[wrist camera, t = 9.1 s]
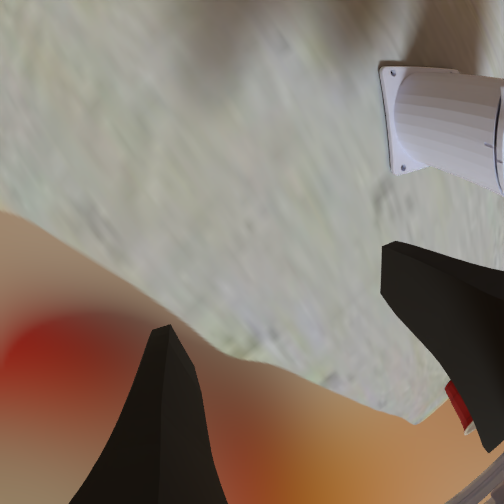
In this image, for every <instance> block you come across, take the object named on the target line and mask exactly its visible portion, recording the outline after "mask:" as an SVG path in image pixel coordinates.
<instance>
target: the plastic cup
mask: <svg viewBox="0 0 504 504" xmlns="http://www.w3.org/2000/svg"><path fill="white" fill-rule="evenodd" d="M445 391H446V393H447V395H448V397H449V399H450V401H451V403H452V405H453V407H454V409H455V411H456V412H457V415H458V416H459V418H460V420H461V423H462V425H463V428H464V435H467V434H469V433H471V432H472V431H473V430H474V429H476V426H475V424H474V422H473V419H472V417H471V415H470V413H469V411H468V409H467V407H466V405H465V403H464V401H463V399H462V397H461V396H460V394H459V392H458V391H457V389H456V387H455V386H454V384H453V382H452V381H450V382H449V383H448V384H447V386H446V387H445Z"/></svg>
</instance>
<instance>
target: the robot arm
mask: <svg viewBox="0 0 504 504" xmlns="http://www.w3.org/2000/svg"><path fill="white" fill-rule="evenodd" d="M391 71H392V75H391ZM379 73H380V79H381V85H382V91H383V98H384V105H385V112H386V120H387V129H388V139H389V150H390V163H391V172H392V173H393V174H395V175H402V174H405V173H409V172H412V171H416V170H420V169H423V168H427V167H430V166H432V167H434V168H437V169H440V170H442V171H445V172H448V173H450V174H453V175H455V176H458V177H460V178H463V179H465V180H467V181H470V182H472V183H475V184H477V185H479V186H481V187H484V188H486V189H488V190H490V191H493V192H495V193H497V194H499V195H501V196H503V197H504V79H501V78H494V77H487V76H478V75H469V74H460V72H459V71H458V70H456V69H445V68H432V67H411V66H383V67H381V68H380V71H379ZM402 165H403V167H402V169H401V166H402ZM380 293H381V295H382V296H383V298H384V299H385V300H386V302H387V303H388V305H389V306H390V307H391V309H392V310H393V312H394V313H395V314H396V315H397V316H398V318H399V319H400V320H401V321H402V322H403V323H404V324H405V325H406V326H407V327H408V328H409V329H410V330H411V332H412V333H413V334H414V335H415V336H416V337H417V338H418V339H419V340H420V341H421V342H422V343H423V344H424V346H425V347H426V348H427V349H428V350H429V351H430V352H431V353H432V354H433V356H434V357H435V358H436V359H437V360H438V362H439V363H440V364H441V366H442V367H443V369H444V370H445V372H446V373H447V375H448V376H449V378H450V379H451V381H452V382H453V384H454V386H455V387H456V389H457V391H458V392H459V394H460V396H461V397H462V399H463V401H464V403H465V405H466V407H467V409H468V411H469V413H470V415H471V417H472V419H473V422H474V424H475V426H476V429H477V431H478V434H479V436H480V439H481V442H482V445H483V447H484V448H485V450H486V451H487V452H488V453H490V452H491V451H492V450H493V449H494V448H496V447H497V446H498V445H499V444H500V443H501V442H502V441H503V440H504V271H500V270H495V269H491V268H487V267H483V266H479V265H476V264H472V263H469V262H465V261H462V260H458V259H455V258H452V257H449V256H446V255H443V254H440V253H436V252H433V251H430V250H427V249H424V248H421V247H417V246H414V245H410V244H407V243H403V242H398V241H394V242H391V243H389V244H387V245H384V246H382V267H381V291H380ZM493 489H494V490H493ZM492 490H493V491H492ZM491 491H492V492H491ZM490 492H491V496H492V497H491V498H490V499H489V500H488V501H486V502H485V503H484V504H504V453H503V454H502V455H501V456H500V457H499V458H498V459H497V460H496V461H495V462H493V464H491V466H489V467H488V468H487V469H486V470H485V471H484V472H483V473H482V474H481V475H479V476H478V477H477V478H476V479H475V480H474V481H473V482H471V483H470V484H469V485H468V486H467V487H465V488H464V489H463V490H462V491H461V492H459V493H458V494H457V495H455V496H454V497H453V498H452V499H450V500H449V501H448V502H446V503H445V504H478V503H479V502H480V501H481V500H482V499H483V498H485V496H487V495H488V494H489V493H490ZM69 504H228V503H227V501H226V498H225V495H224V492H223V489H222V487H221V484H220V481H219V478H218V475H217V471H216V468H215V465H214V461H213V457H212V453H211V447H210V442H209V436H208V430H207V424H206V418H205V412H204V406H203V399H202V393H201V390H200V386H199V382H198V378H197V375H196V371H195V367H194V365H193V363H192V362H191V360H190V358H189V356H188V355H187V353H186V351H185V349H184V348H183V346H182V344H181V342H180V341H179V339H178V337H177V335H176V333H175V332H174V330H173V328H172V326H171V325H167V326H163V327H160V328H157V329H154V330H152V332H151V334H150V337H149V339H148V342H147V345H146V348H145V351H144V354H143V357H142V359H141V362H140V365H139V368H138V371H137V373H136V376H135V379H134V381H133V385H132V387H131V390H130V392H129V395H128V397H127V400H126V402H125V404H124V407H123V409H122V412H121V414H120V417H119V419H118V421H117V423H116V426H115V428H114V430H113V432H112V434H111V436H110V438H109V440H108V442H107V444H106V446H105V448H104V449H103V451H102V453H101V455H100V457H99V458H98V460H97V462H96V463H95V465H94V467H93V468H92V470H91V472H90V473H89V475H88V477H87V478H86V480H85V481H84V483H83V484H82V486H81V487H80V489H79V490H78V492H77V493H76V494H75V496H74V497H73V498H72V500H71V501H70V502H69Z"/></svg>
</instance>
